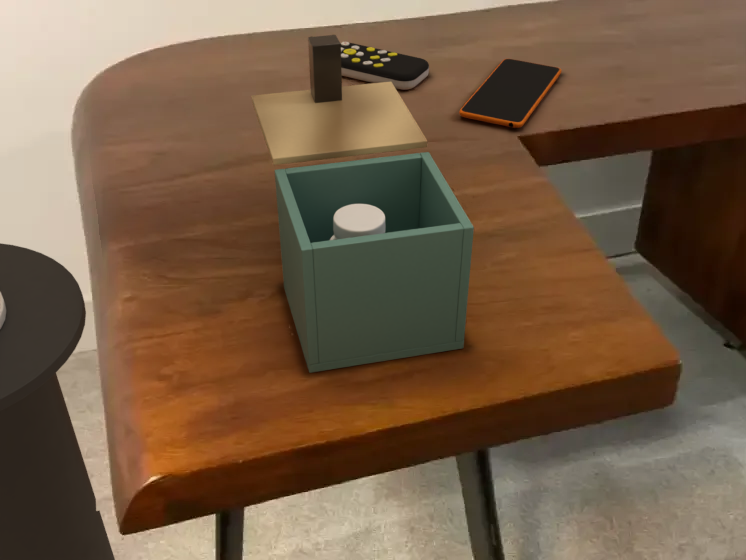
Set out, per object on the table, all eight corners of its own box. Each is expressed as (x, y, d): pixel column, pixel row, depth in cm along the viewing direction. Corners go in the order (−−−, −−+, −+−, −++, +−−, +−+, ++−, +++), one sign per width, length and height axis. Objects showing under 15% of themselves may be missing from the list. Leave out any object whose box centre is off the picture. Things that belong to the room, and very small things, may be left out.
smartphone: (562, 73, 112) (563, 66, 111) (520, 131, 100) (521, 124, 100) (503, 62, 114) (503, 55, 113) (456, 118, 103) (456, 110, 102)
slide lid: (273, 165, 72) (267, 98, 68) (251, 102, 80) (245, 38, 76) (427, 147, 74) (430, 81, 70) (391, 87, 82) (392, 25, 78)
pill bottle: (349, 284, 78) (347, 192, 72) (403, 302, 77) (406, 208, 70) (317, 317, 75) (311, 223, 69) (373, 337, 73) (373, 242, 67)
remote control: (410, 93, 107) (410, 77, 106) (316, 71, 112) (316, 55, 110) (433, 74, 111) (433, 58, 110) (342, 53, 116) (341, 37, 114)
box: (309, 373, 71) (301, 250, 63) (283, 287, 79) (274, 169, 72) (463, 348, 73) (474, 227, 66) (423, 267, 82) (428, 151, 74)
